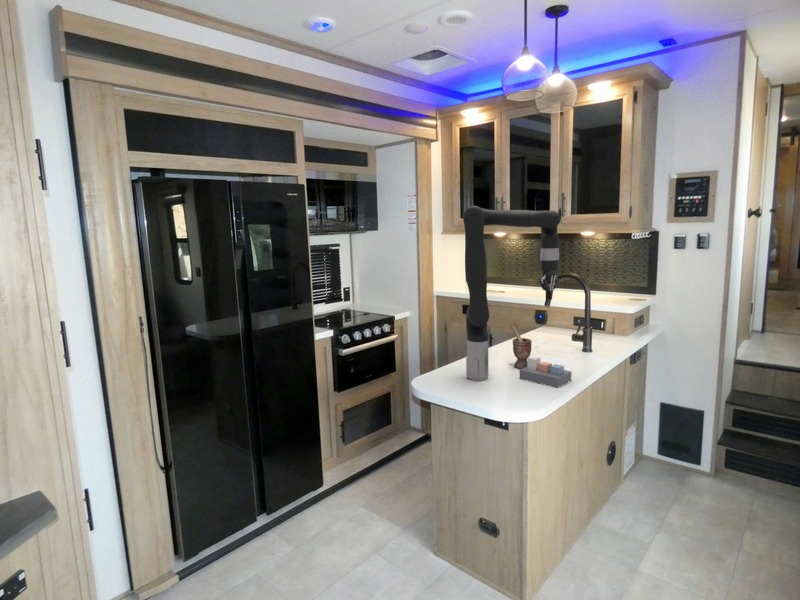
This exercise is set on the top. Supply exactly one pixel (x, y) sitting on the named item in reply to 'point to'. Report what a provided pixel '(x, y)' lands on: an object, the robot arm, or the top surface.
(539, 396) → the top surface
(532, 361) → the white key
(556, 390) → the top surface
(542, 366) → the coral key
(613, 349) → the top surface
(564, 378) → the grey flat block
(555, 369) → the slate-blue key
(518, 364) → the mortar and pestle
